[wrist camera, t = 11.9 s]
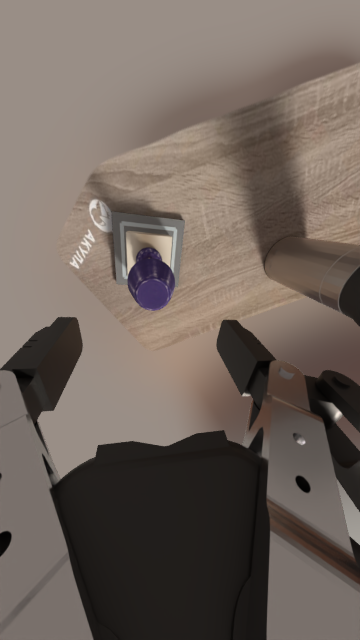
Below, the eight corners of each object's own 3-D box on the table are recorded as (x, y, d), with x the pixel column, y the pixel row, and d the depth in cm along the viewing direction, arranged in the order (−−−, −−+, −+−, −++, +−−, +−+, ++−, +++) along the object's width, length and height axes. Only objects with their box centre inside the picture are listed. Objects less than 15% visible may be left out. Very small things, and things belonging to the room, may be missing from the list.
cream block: (169, 235, 31) (172, 237, 27) (166, 274, 34) (168, 280, 31) (128, 230, 29) (125, 232, 26) (129, 272, 33) (127, 278, 29)
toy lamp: (127, 259, 28) (111, 299, 14) (146, 236, 27) (150, 253, 12) (150, 279, 30) (157, 331, 16) (169, 258, 29) (194, 295, 15)
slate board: (183, 220, 31) (184, 220, 30) (177, 285, 37) (177, 287, 36) (112, 211, 29) (111, 211, 28) (117, 282, 34) (116, 284, 33)
